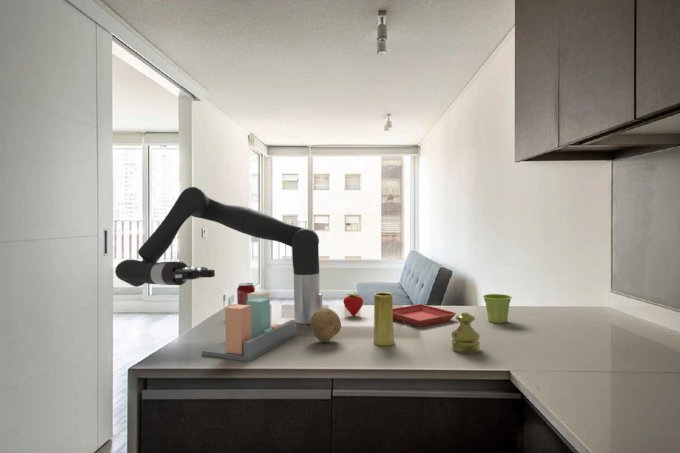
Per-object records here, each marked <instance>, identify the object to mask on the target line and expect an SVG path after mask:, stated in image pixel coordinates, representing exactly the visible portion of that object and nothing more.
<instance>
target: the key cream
mask: <svg viewBox="0 0 680 453" xmlns="http://www.w3.org/2000/svg"><path fill="white" fill-rule="evenodd" d="M253 298H264V299H270V292H268V291H255V292H252V293H249V294H248V300H250V299H253Z"/></svg>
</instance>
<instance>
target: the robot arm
mask: <svg viewBox="0 0 680 453" xmlns="http://www.w3.org/2000/svg"><path fill="white" fill-rule="evenodd" d="M190 217H193V218H197V219H198V218H199V219H203V220H207V221H212V222H214V223H218V224H220V225H223V226H225V227H227V228H230V229H232V230H235V231H237V232H239V233H242V234H244V235H248V236H250V237H254V238H258V239H261V240H266V241H267V240H268V241H274V242H279V243H281V244H284V245H286V246H289V247H291V253H292V254H291V256H292V257H291V258H292V259H291V260H292V268H293V270H292V271H293V304H294V305H293V307H294V311H293V312H294V316H293V317H294V320H295V324H300V325H311V318H312V316H313V314H314V313H315V312H316V311H318V310H320V309H322V308H323V294H321V292H320V291H321V289H320V287H321V286H320V284H321V283H320V259H319V256H320V255H319V252H320V251H319V244H320V238H319V235H318V234H317V232H315V230H313V229H310V228H305V227H301V226H296V225H293V224H289V223H287V222H284V221H281V220H279V219H277V218H275V217H273V216H271V215H270V214H266V213H264V212H262V211H259V210H255V209H254V208H250V207H247V206H241V205H231V204H225V203H223V202H220V201H217V200H215V199H213V198H210V196H208V195H206V193H205V192H204V191H203V189H200V188H199V187H197V186H196V187H195V186H190V187H187V188H185V189H183V191H182V192H181V193H180V194H179V196H178V197H177V199H176V201H175V202H174V204H173V205H172V207H171V209H170V210H169V212H168V213H167V215H166V216H165V217H164V219H163V220H162V221H161V223H160V224H159V226H158V227H157V228H156V229H155V230H154V231H153V233H152V234H151V235H150V236H149V237H148V239H147V240H146V241H145V242H144V243H143V244H142V245H141V246H140V248H139V249H138V251H137V253H138V256H140V258H141V259H142V260H138V259H130V258H129V259H125V260H122V261H121V262H119V263H118V264H117V265H116V267H115V269H114V270H115V271H114V273H115V275H116V277H117V278H118V279H119V280H121V281H123V282H124V283H127V284H129V285H130V286H133V287H137V288H138V287H141V286H143V285H144V284H147V285H160V286H161V285H162V286H182V285H185V283H186V282H187V281H190V280H197V279H202V278H214V277H215V276H216V274H215V270H214V269H208V267H205V266H200V267H197V266H196V267H195V266H188V265H187V263H185V262H184V261H162V262H158V261H159V259H161V257H162V256H163V255H164V254H165V253H166V252H167V251H168V249H169V248H170V247H171V245H172V243H173V242H174V240H175V238H176V236H177V234H178V233H179V231H180V229H181V227H182V226H183V225H184V224H185V222H186V221H187V220H188V219H189V218H190Z"/></svg>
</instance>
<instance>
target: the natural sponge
mask: <svg viewBox="0 0 680 453" xmlns="http://www.w3.org/2000/svg"><path fill="white" fill-rule="evenodd" d="M310 327H311V330H312V332H313V335H314V336H315V337H316V339H317V340H318V341H320V342H322V343H327V342H329V341H330V340H332V339H333V337H334V336H336V335H337V334H338V333H340V331H341V328H342V322H341V319H340V317H339V315H338V313H336V311H334V310H333V309H331V308H328V307H327V308H326V307H322V309H320V310H318V311H316V312H315V313H314V314H313V316H312V318H311V324H310Z"/></svg>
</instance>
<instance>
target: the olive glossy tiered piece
mask: <svg viewBox="0 0 680 453" xmlns="http://www.w3.org/2000/svg"><path fill="white" fill-rule="evenodd" d="M475 317H476V316H474V315H472V314H470V313H469V312H461V313H460V314H458V315H457V314H456V315H455V320H456V321H458V322H459V324H460V325H459V326H458V327H457V328H456V329H454V330H453V331H452V332H451V335H450V336H451V338H452V340H451V349H452V350H453V351H455V352H457V353H460V354H470V355H471V354H477V353H478V352H480V350H481V342H480V341H479V340H481V335H480V333H479V332H478V331H477V330H475V328H473V326H471V324H472V322H474V321H475V320H476V318H475Z"/></svg>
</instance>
